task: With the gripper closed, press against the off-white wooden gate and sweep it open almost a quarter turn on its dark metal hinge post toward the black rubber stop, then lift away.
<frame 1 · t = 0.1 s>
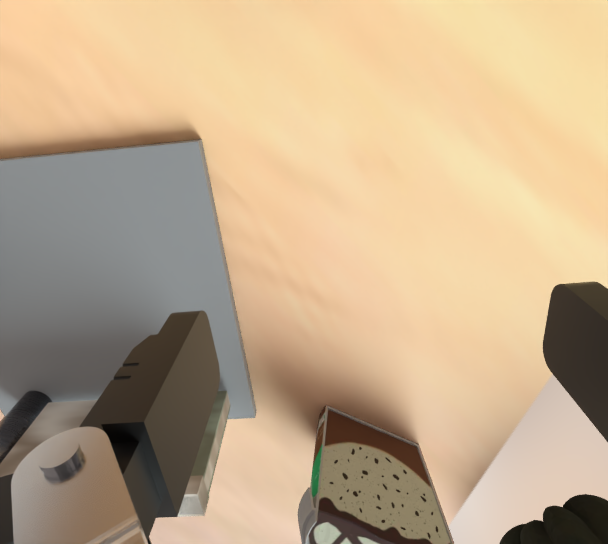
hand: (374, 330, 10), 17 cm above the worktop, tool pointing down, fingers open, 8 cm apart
gate frame: (43, 394, 34), on the worktop
food container: (354, 445, 36), on the worktop
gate: (114, 449, 28), point 6 cm above the worktop, hinge at 0.0°
squash: (563, 520, 40), on the worktop
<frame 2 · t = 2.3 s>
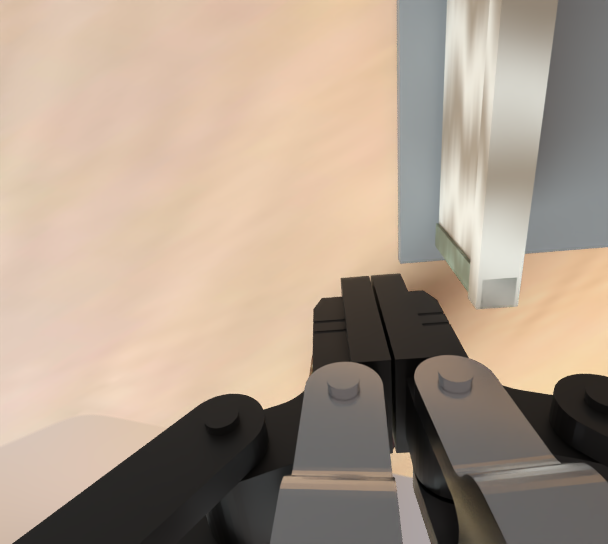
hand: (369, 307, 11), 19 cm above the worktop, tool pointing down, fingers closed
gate: (476, 144, 21), point 6 cm above the worktop, hinge at 0.0°
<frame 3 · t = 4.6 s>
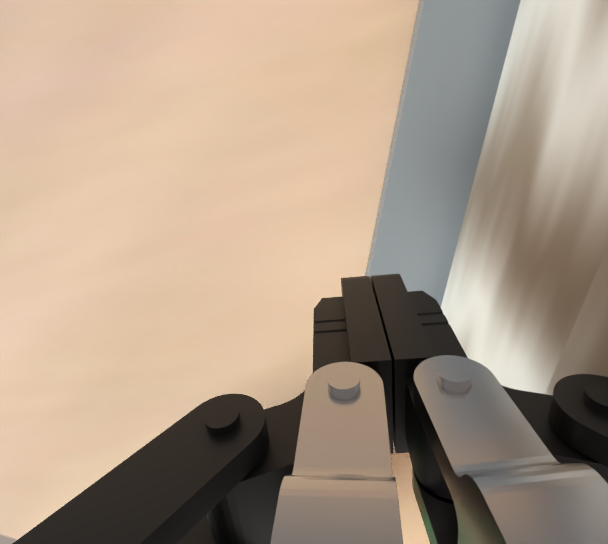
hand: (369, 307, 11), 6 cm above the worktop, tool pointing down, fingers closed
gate: (552, 240, 10), point 6 cm above the worktop, hinge at 1.6°, touching gripper
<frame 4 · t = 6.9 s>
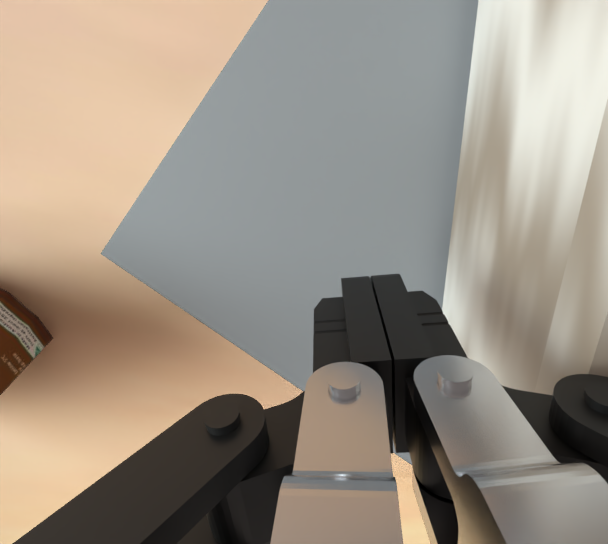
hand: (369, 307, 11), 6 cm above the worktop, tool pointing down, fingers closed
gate: (533, 235, 10), point 6 cm above the worktop, hinge at 41.8°, touching gripper
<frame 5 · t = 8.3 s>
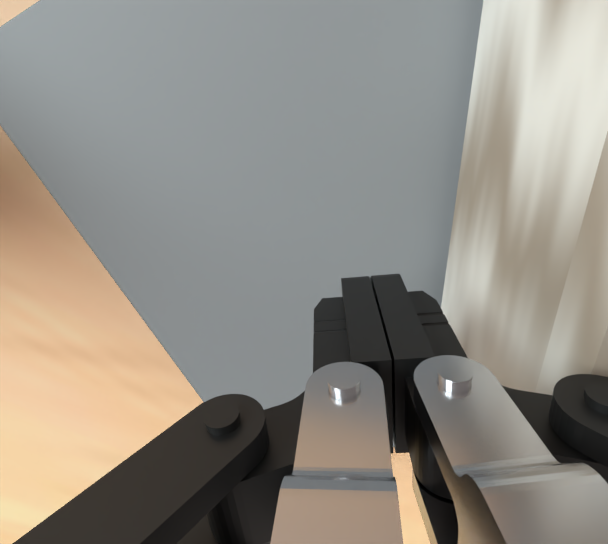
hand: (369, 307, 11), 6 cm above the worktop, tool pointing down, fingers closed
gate: (535, 235, 10), point 6 cm above the worktop, hinge at 65.8°, touching gripper
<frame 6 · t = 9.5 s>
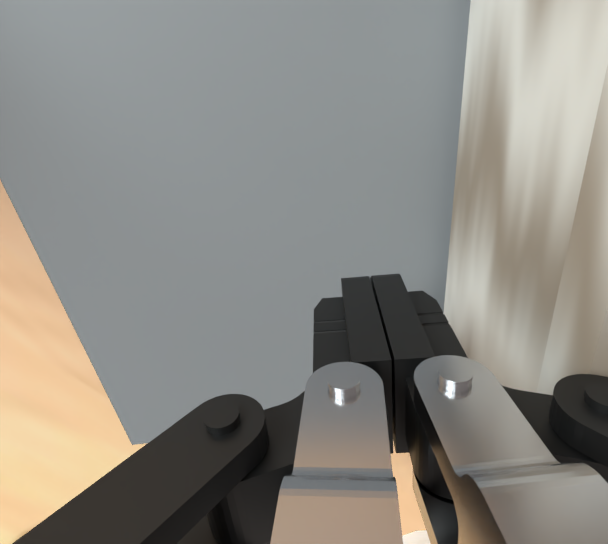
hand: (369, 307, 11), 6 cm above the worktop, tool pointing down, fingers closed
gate: (532, 233, 10), point 6 cm above the worktop, hinge at 83.2°, touching gripper
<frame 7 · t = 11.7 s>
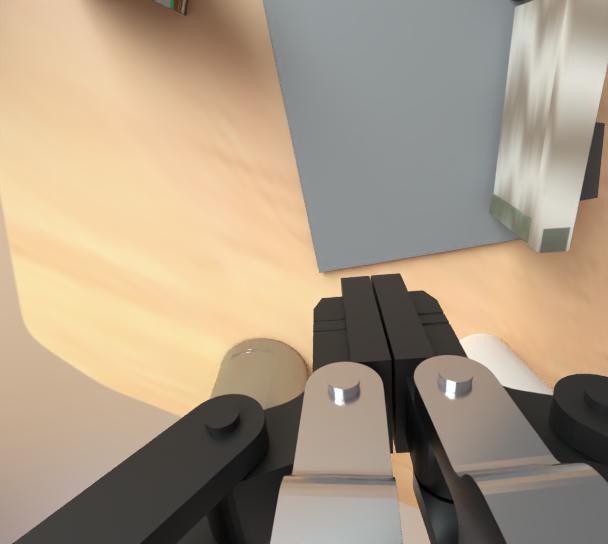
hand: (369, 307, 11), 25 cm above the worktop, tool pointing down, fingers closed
foam cup: (476, 358, 42), on the worktop
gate: (537, 125, 27), point 6 cm above the worktop, hinge at 83.2°
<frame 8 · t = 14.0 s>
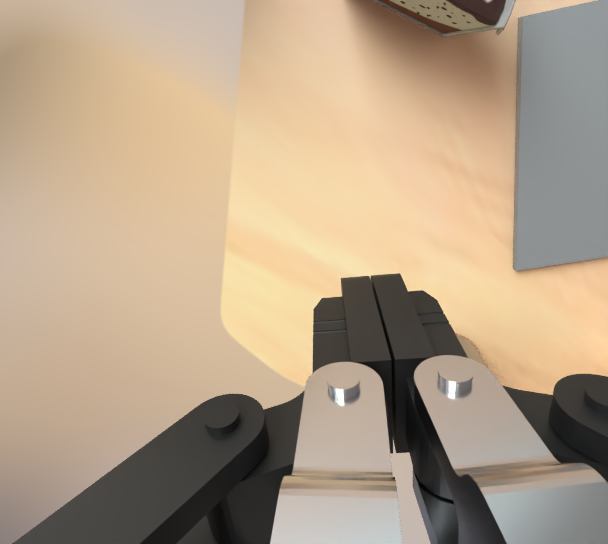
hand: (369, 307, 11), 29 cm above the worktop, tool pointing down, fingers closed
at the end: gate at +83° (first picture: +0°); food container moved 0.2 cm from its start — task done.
